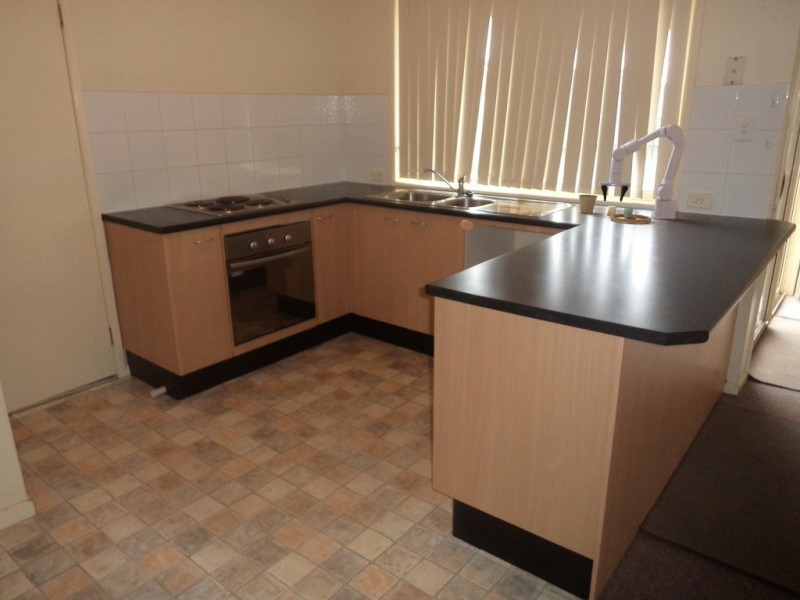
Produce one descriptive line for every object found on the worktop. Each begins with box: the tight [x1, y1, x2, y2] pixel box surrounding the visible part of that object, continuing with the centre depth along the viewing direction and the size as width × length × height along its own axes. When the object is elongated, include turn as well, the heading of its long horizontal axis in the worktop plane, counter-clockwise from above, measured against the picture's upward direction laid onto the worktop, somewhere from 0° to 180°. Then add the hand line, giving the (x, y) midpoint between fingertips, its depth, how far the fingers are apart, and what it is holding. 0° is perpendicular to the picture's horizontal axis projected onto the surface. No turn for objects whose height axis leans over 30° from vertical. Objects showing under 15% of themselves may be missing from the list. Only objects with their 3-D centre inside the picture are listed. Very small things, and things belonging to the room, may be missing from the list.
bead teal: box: [623, 207, 634, 218], centre depth 289 cm, size 4×4×4 cm
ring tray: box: [609, 213, 653, 225], centre depth 285 cm, size 18×18×2 cm
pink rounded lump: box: [459, 219, 474, 231], centre depth 258 cm, size 4×4×4 cm
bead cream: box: [606, 205, 617, 217], centre depth 298 cm, size 4×4×4 cm
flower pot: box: [578, 194, 599, 214], centre depth 306 cm, size 9×9×9 cm
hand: (612, 201), depth 297 cm, fingers open, 7 cm apart
